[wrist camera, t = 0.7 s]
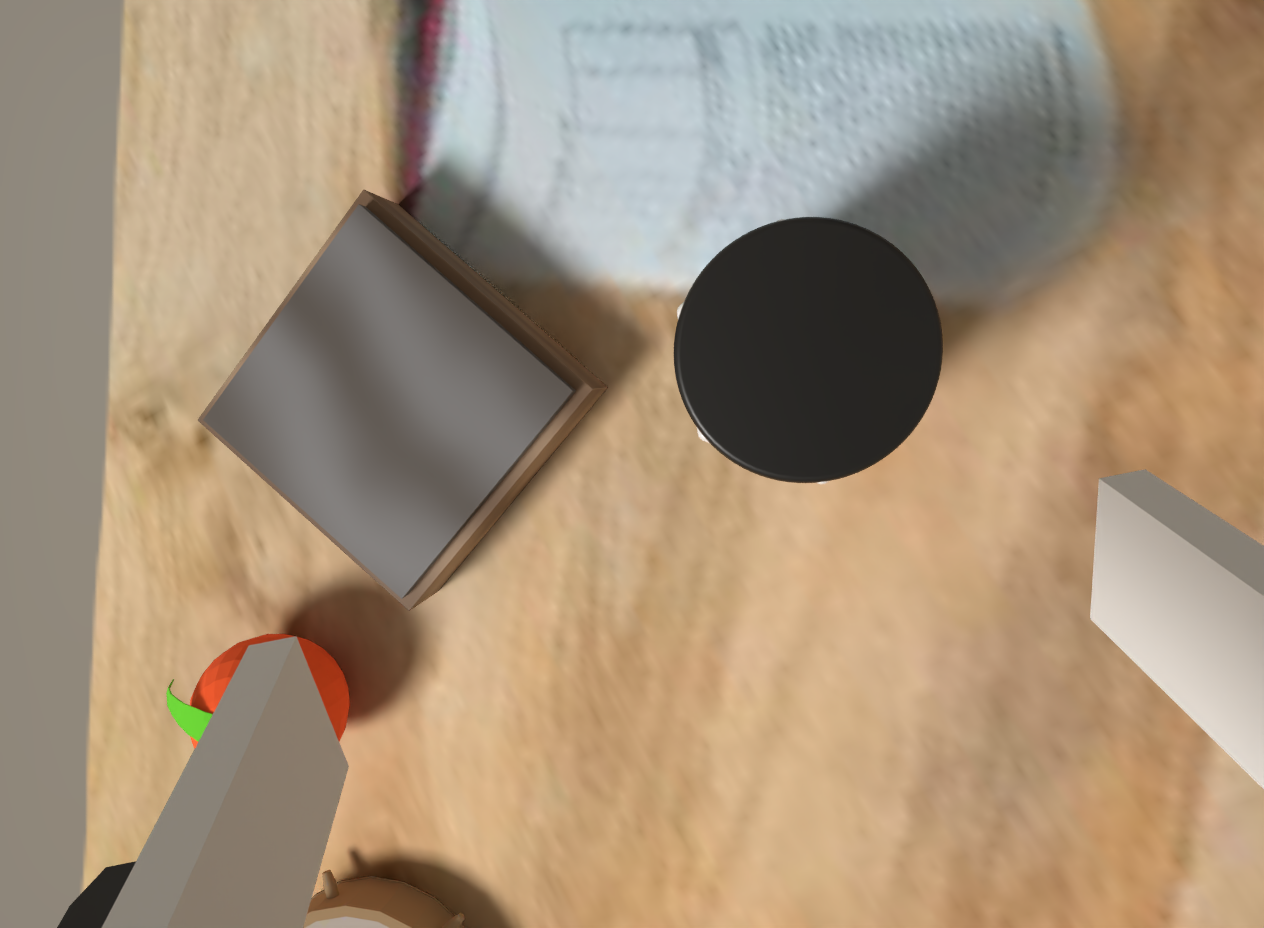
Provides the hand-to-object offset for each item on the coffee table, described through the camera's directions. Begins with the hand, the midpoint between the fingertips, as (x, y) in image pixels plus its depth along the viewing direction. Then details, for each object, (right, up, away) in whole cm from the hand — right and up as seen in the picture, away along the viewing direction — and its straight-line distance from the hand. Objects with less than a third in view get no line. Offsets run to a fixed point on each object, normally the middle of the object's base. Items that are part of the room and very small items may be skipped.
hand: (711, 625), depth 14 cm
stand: (-11, +6, +27) cm, 30 cm away
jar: (+6, +7, +24) cm, 26 cm away
